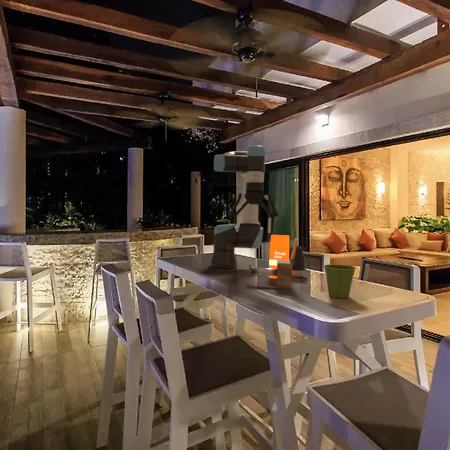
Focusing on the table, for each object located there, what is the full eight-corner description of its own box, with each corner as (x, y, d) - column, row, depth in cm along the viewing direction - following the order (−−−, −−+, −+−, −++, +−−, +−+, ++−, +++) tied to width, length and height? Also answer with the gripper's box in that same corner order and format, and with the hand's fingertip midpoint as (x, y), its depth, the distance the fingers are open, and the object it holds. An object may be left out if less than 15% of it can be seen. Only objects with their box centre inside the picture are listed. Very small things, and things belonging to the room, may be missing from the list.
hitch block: (276, 283, 155) (277, 255, 155) (292, 284, 154) (293, 256, 154) (276, 288, 145) (277, 258, 144) (293, 289, 144) (294, 259, 143)
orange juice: (287, 279, 166) (289, 236, 165) (268, 277, 168) (270, 235, 167) (288, 276, 174) (289, 235, 173) (269, 275, 175) (271, 234, 175)
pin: (249, 275, 154) (250, 263, 154) (288, 278, 152) (289, 266, 152) (248, 278, 149) (249, 265, 149) (289, 280, 147) (289, 267, 146)
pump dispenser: (300, 279, 167) (301, 246, 167) (280, 276, 173) (281, 244, 173) (309, 276, 175) (310, 245, 175) (290, 273, 182) (291, 243, 181)
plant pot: (329, 291, 142) (330, 263, 142) (359, 296, 135) (361, 266, 134) (316, 296, 133) (317, 266, 133) (348, 302, 126) (349, 270, 125)
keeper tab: (294, 238, 152) (297, 238, 152) (289, 260, 153) (292, 260, 153) (295, 239, 144) (298, 240, 144) (290, 262, 145) (293, 263, 145)
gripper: (225, 180, 149) (223, 231, 148) (285, 182, 149) (284, 233, 148) (225, 182, 156) (223, 231, 156) (282, 184, 156) (281, 233, 156)
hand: (253, 232), depth 152 cm, fingers open, 13 cm apart
